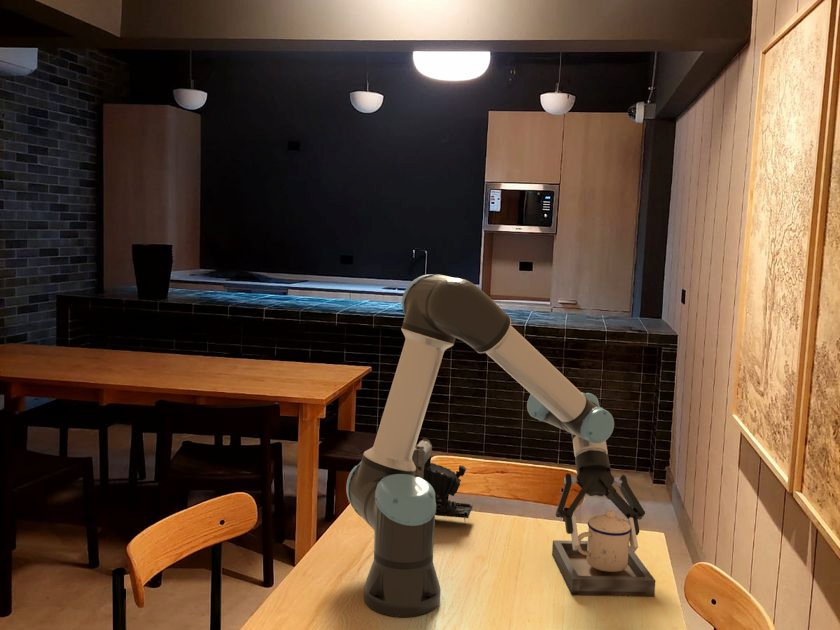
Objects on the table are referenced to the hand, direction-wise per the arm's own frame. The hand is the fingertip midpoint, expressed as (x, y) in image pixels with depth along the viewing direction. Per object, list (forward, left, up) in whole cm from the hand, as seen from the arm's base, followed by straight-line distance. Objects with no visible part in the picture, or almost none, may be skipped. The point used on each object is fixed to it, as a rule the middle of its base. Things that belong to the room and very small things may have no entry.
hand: (605, 548), depth 160 cm
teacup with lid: (0, +3, -5) cm, 6 cm away
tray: (0, +3, -7) cm, 7 cm away
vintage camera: (-33, +31, -7) cm, 45 cm away
